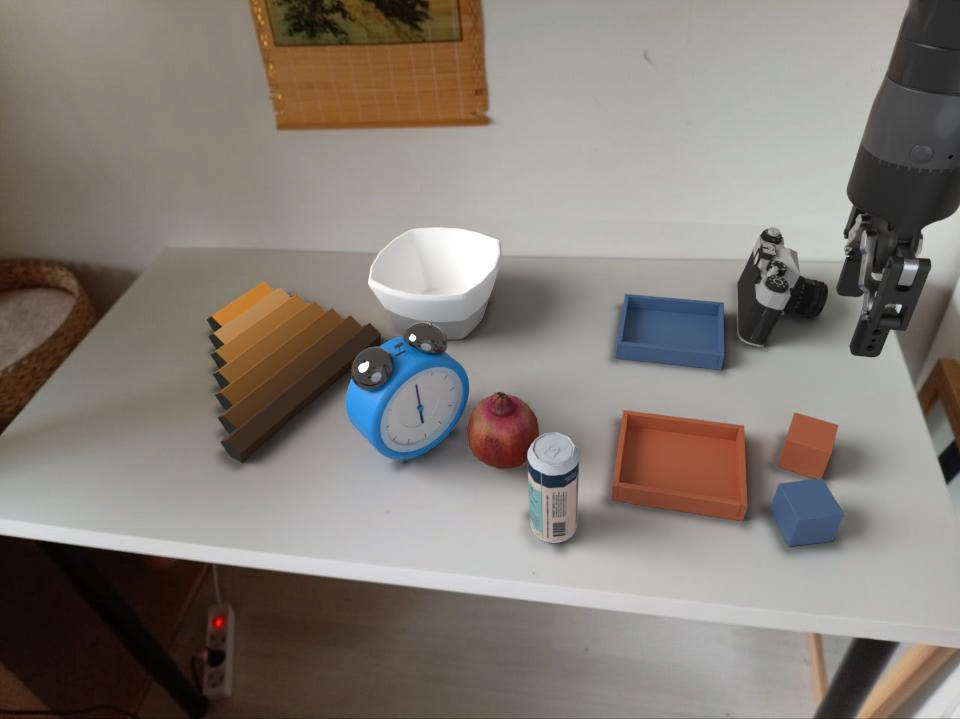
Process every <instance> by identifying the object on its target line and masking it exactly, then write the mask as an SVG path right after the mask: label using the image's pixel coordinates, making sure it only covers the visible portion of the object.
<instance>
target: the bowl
mask: <svg viewBox="0 0 960 719" xmlns="http://www.w3.org/2000/svg"><path fill="white" fill-rule="evenodd" d="M502 261H503V250H502V243H501V242H500V240H499V239H497V238H495V237H492V236H489V235H487V234H484V233H482V232H478V231H474V230H469V229H464V228H459V227H440V226H439V227H438V226H432V227H417V228H411V229H408V230H406V231H405V232H403V233H402V234H400V235H398V236H397V237H395V238H393V239H392V240H390V242H389V243H388V244H387V245H386V246H384V247H383V248H382V249H381V250H380V251H379V252H378V254H377V255H376V257H375V258H374V260H373V262H372V264H371V265H370V268H369V269H370V270H369V275H368V280H367V281H368V283H367V285H368V286H369V288H370V289H371V291H372V292H373V294H374V295H375V297H376V298H377V300H378V301H379V302H380V304H381V305H382V307H383V308H384V309H385V310H386V312H387V313H388V315H389V316H390V318H391V319H392V321H393V322H394V323H395V325H396V326H397V328H398V329H399V330H401V331H404V332H405V331H406V329H407V328H408V327H409V326H411V325H412V324H415V323H419V322H427V323H430V322H431V323H432V324H434V325H436V326H438V327H439V328H440V329H441V330H443V332H444V333H445V335H446V337H447V340H461V339H465V337H467V336H468V335H469V334H471V332H472V331H474V330H475V329H476V327H478V325H479V324H480V323H481V322H482V320H483V319H484V315H485V313H486V311H487V310H486V309H487V306H488V304H489V300H490V297H491V295H492V292H493V288H494V286H495V283H496V280H497V277H498V274H499V270H500V267H501V264H502Z"/></svg>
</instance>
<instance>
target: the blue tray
mask: <svg viewBox="0 0 960 719" xmlns="http://www.w3.org/2000/svg"><path fill="white" fill-rule="evenodd" d="M615 359H618V360H627V361H637V362H647V363H654V364H664V365H674V366H680V367H681V366H682V367H683V366H684V367H690V368H691V367H692V368H700V369H710V370H719V371H721V370H722V368H723V364H724V359H725V302H723V301H722V302H721V301H712V300H699V299H690V298H689V299H688V298H677V297H664V296H656V295H642V294H632V293H631V294H630V293H625V294H624V298H623V304H622V310H621V314H620V321H619V328H618V334H617V339H616V348H615Z"/></svg>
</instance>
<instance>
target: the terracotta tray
mask: <svg viewBox="0 0 960 719" xmlns="http://www.w3.org/2000/svg"><path fill="white" fill-rule="evenodd" d="M745 432H746V431H745V425H743V424H734V423H727V422H720V421H712V420H704V419H697V418H688V417H681V416H672V415H665V414H657V413H650V412H649V413H648V412H641V411H634V410H626V409H624V410H622V417H621V424H620V431H619V436H618V438H619V439H618V444H617V451H616V459H615V465H614V466H615V467H614V472H613V480H612V488H611V501H614V502H621V503H627V504H633V505H639V506H645V507H651V508H657V509H662V510H663V509H664V510H670V511H676V512H682V513H689V514H694V515H701V516H708V517H713V518H721V519H727V520H733V521H739V522H744V520H745V516H746V513H747V510H748V507H749V506H748V487H747V486H748V485H747V484H748V483H747V461H746V460H747V459H746V436H745Z"/></svg>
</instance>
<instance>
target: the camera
mask: <svg viewBox="0 0 960 719" xmlns="http://www.w3.org/2000/svg"><path fill="white" fill-rule="evenodd" d="M828 296H829V286H828V285H827V283H825V282H824V281H823V280H821V281H819V280H818V279H811V278H808V277H804V276H803V275H802V274H801V270H800V263H799V256H798V252H797V251H795V250H794V249H792V248H790V247H789V248H787V247H786V246H785V241H784V237H783V235H782V233H781V230H780V229H779V228H778V227H774V226H771V227H769V228H766V229H764V230H762V231H761V233H760V234H759V235H758V238H757V239H756V242H755V244H754V246H753V248H752V251H751V253H750V255H749V258H748V260H747V262H746V264H745V266H744V268H743V271H742V273H741V274H740V277H739V279H738V281H737V282H736V324H737V325H736V326H737V333H736V334H737V337H738V338H739V340H740V341H742V342H743V343H745V344H746V345H750V346H754V347H758V348H763V347H764V346H765V344H766V342H767V341H768V339H769V337H770V335H771V333H772V331H773V330H774V327H775V326H776V324H777V322H778V320H779V318H780V317H781V315H783V316H784V314H788V315H792V314H794V315H798V316H800V317H802V318H809V319H813V318H817V317H819V316H820V315H821V314H822V312H823V310H824V308H825V305H826V303H827V300H828Z"/></svg>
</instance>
